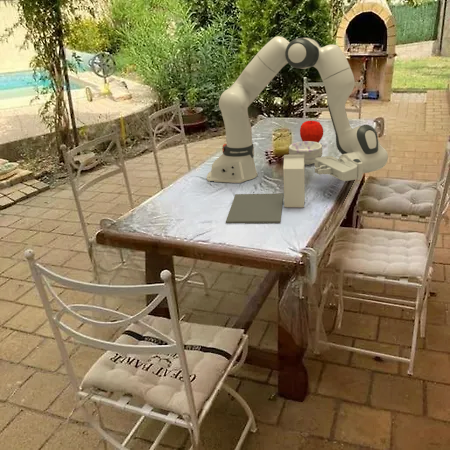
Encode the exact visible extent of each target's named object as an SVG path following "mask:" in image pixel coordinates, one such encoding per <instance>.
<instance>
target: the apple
mask: <svg viewBox="0 0 450 450" xmlns="http://www.w3.org/2000/svg"><path fill="white" fill-rule="evenodd" d="M299 135H300V139H301V142H303V141H312V142H318V143H320V141H321V140H322V139H323V136H324V127H323V125H322V124H321V122H319V121H316V120H306V121H304V122H303V123H302V124H301V126H300V127H299Z"/></svg>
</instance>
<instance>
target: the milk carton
mask: <svg viewBox="0 0 450 450" xmlns="http://www.w3.org/2000/svg"><path fill="white" fill-rule="evenodd" d="M305 167H306V166H305V162H304V155H289V154H284V155H283V167H282V168H283V169H282V170H283V193H284V196H283V204H284V205H283V207H284V208H305V202H306V201H305V200H306V199H305V198H306V197H305V196H306V195H305V194H306V191H305V190H306V189H305V187H306V186H305V184H306V182H305V171H306V170H305Z"/></svg>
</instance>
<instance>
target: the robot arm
mask: <svg viewBox="0 0 450 450" xmlns="http://www.w3.org/2000/svg"><path fill="white" fill-rule="evenodd" d="M287 64H289V65H290V66H291V67H292V68H294V69H302V70H305V69H308V68H309V69H310V68H315V69H316V70H317V71H318V74H319V76H320V78H321V80H322V83H323V85H324V88H325V92H326V104H327V109H328V111H329V114H330V119H331V123H332V125H333V130H334V133H335V145H336V149H337V151H338V152H339V153H340V154H341V155H339V157H338V158H337V157H335V156H332V155H327V156H321V157H318V158H316V159H315V162H314V163H313V164H314V167H315V168H314V173H315V174H317V175H320V176H321V175H330V176H332V177H334V178H336V179H338V180H340V181H342V182H348V181H354V180H362V179H363V174H367V173H368V174H369V173H373V172H376V171H379V170H381V169H383V168H384V167H385V166H386V164H387V163H388V159H389V153H388V151H387V149H385V148H384V147H383V146H382V145H381V143H380V140H379V137H378V132H377V131H376V128H374V127H373V126H372V125H370V124H362V125H359V126H356V127H353V128H352V127H351V124H350V121H349V118H348V114H347V110H346V104H347V101H348V99H349V97H350V96H351V95H352V92H353V91H354V88H355V85H356V81H355V77H354V76H355V75H354V73H353V70H352V69H351V68H352V67H351V66H350V63H349V61H348V59H347V57H346V55H345V54H344V52H343V50H342V49H341V47H340V46H339V45H337V44H327V45H325V46H322V47H321V44H320V43H319V42H318V41H317V40H315V39H312V38H310V37H297V38H294V39H292V40H291V41H289V40H287V38H285V37H283V36H278V35H277V36H274V37H272V38H271V39H270V40H268V42H266V44H265V45H264V46H263V47H262V48H260V50H259V51H258V52H257V53H256V55H254V57H253V58H252V59H251V60H250V61H249V62H248V64H247V65H246V66H245V68H244V69H243V70H242V72H241V73H240V74H239V76H238V77H237V79H236V80H235V81H234V83H233V84H231V86H229V88H226V89H225V90H224V91H223V92H222V93H221V95H220V97H219V99H218V108H219V111H220V112H221V115H222V119H223V123H224V128H225V139H226V143H223V144H222V154H220V156H218V157H217V158H216V159H215V160H214V161H213V163H212V164H211V170H210V171H209V172H208V173H207V175H206V180H207V182H210V181H214V182H213V183H230V184H231V183H233V184H234V183H235V184H242V183H244V182H246V181H249V180H250V181H251V180H253V179H255V178H257V177H258V172H257V168H256V163H255V159H254V158H255V147H254V142H253V135H252V134H253V133H252V130H253V129H252V124H251V121H250V118H249V117H250V116H249V111H248V110H249V109H248V108H249V107H250V106H251V105H252V104H253V102H254V101H255V100H256V99H257V98H258V96H259V95H260V94H261V92H263V90H264V89H265V88H266V87H267V86H268V85H269V84H270V83H271V81H272V80H273V79H274V78H275V77H276V76H277V74H278V73H279V72H280V71H281V70H282V69H283V68H284V67H285V66H286V65H287Z"/></svg>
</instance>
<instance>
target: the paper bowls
mask: <svg viewBox="0 0 450 450" xmlns="http://www.w3.org/2000/svg"><path fill="white" fill-rule="evenodd" d="M288 155H304V162H305V165H306V166H308V165H312V164H314V162H315V159H316V158H318V157H323V144H321V143H320V142H319V143H318V142H312V141H297V142H293V143H291V144H290V145H289V146H288Z"/></svg>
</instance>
